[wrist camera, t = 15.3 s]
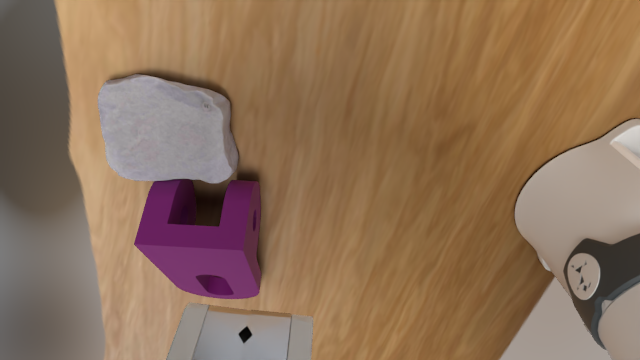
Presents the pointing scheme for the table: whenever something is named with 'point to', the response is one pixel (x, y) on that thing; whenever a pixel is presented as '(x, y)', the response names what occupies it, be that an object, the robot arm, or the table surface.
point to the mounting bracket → (203, 239)
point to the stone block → (166, 130)
